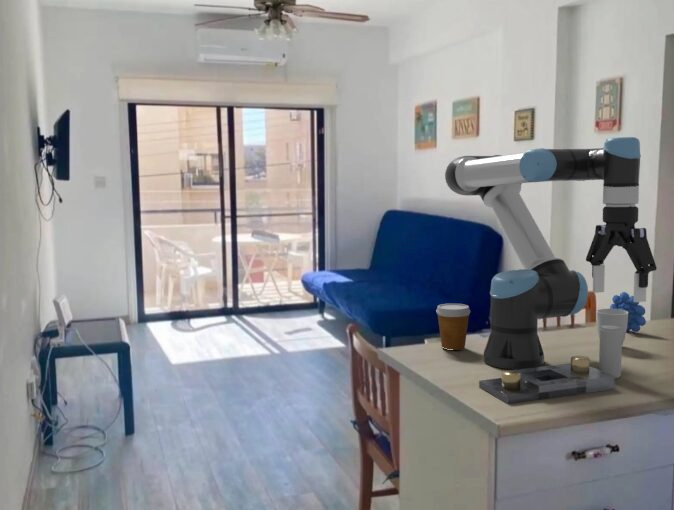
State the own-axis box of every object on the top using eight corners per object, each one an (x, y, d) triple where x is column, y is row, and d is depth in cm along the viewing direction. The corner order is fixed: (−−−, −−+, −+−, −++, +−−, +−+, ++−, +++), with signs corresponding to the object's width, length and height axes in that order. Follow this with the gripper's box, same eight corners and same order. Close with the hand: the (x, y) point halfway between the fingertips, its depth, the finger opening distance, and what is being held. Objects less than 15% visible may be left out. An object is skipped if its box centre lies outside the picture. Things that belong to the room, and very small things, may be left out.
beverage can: (624, 379, 150) (625, 328, 149) (603, 379, 150) (604, 329, 149) (615, 373, 155) (617, 324, 154) (595, 373, 155) (596, 324, 154)
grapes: (601, 329, 199) (602, 291, 198) (614, 326, 203) (615, 289, 202) (636, 336, 190) (637, 296, 188) (649, 333, 193) (651, 294, 192)
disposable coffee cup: (476, 350, 178) (476, 308, 177) (445, 354, 176) (445, 310, 174) (460, 342, 187) (460, 302, 186) (430, 345, 185) (430, 304, 183)
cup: (629, 345, 180) (630, 310, 179) (624, 351, 174) (625, 315, 173) (598, 342, 185) (599, 307, 184) (593, 348, 178) (593, 312, 177)
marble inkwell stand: (479, 387, 147) (479, 361, 146) (579, 374, 155) (579, 349, 154) (507, 403, 136) (508, 376, 135) (614, 389, 144) (615, 362, 143)
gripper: (676, 206, 137) (673, 304, 140) (597, 203, 161) (595, 287, 163) (647, 207, 135) (644, 307, 138) (572, 204, 159) (570, 289, 161)
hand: (618, 296), depth 151 cm, fingers open, 13 cm apart
